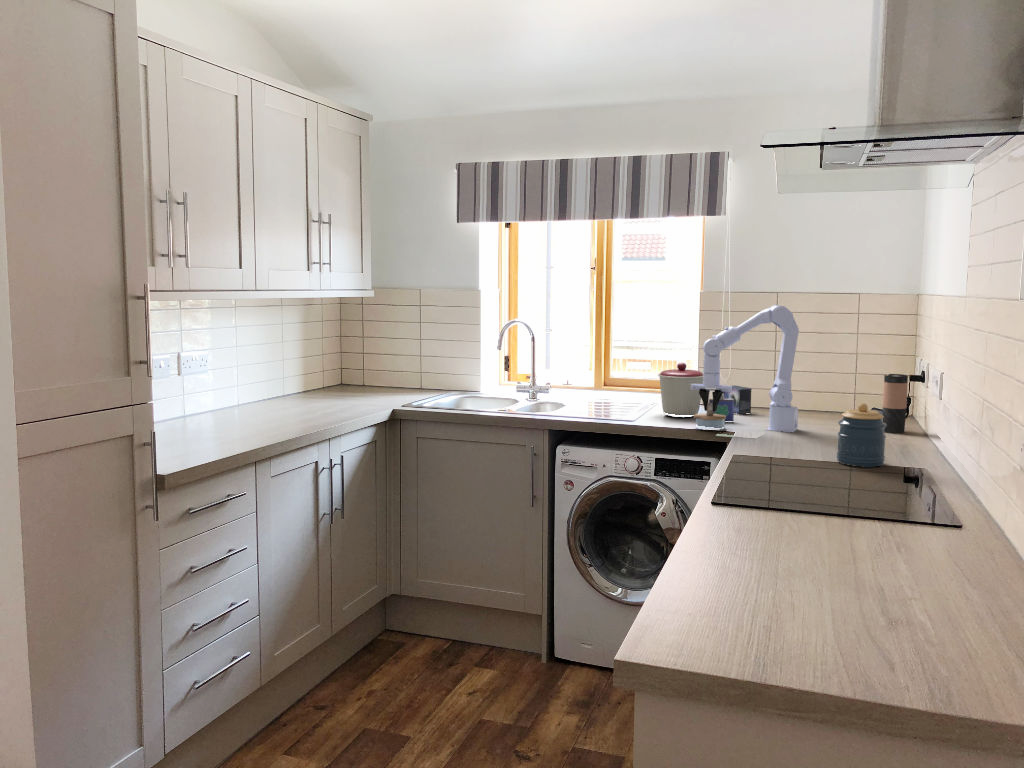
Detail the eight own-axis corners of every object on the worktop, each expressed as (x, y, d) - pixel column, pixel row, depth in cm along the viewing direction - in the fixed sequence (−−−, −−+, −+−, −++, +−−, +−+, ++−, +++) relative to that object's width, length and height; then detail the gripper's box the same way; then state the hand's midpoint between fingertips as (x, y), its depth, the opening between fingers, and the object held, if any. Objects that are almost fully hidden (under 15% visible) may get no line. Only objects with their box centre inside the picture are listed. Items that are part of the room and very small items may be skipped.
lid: (732, 418, 307) (732, 403, 306) (712, 420, 300) (712, 406, 300) (707, 414, 316) (708, 400, 315) (687, 417, 309) (688, 402, 308)
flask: (732, 421, 324) (733, 393, 323) (734, 423, 321) (735, 394, 320) (708, 421, 325) (708, 393, 323) (709, 423, 322) (710, 394, 320)
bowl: (727, 428, 310) (727, 417, 310) (719, 432, 302) (719, 420, 302) (701, 425, 315) (701, 415, 315) (692, 429, 307) (692, 418, 307)
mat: (767, 433, 299) (767, 432, 299) (756, 440, 288) (756, 439, 288) (727, 430, 307) (727, 429, 307) (715, 436, 295) (715, 435, 295)
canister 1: (695, 421, 325) (697, 365, 322) (650, 417, 334) (651, 363, 331) (710, 415, 341) (711, 361, 338) (666, 411, 350) (667, 359, 347)
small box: (721, 411, 350) (721, 385, 348) (734, 410, 352) (734, 385, 351) (738, 415, 340) (739, 388, 339) (751, 414, 343) (752, 388, 341)
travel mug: (907, 434, 298) (910, 376, 296) (883, 433, 300) (886, 376, 297) (902, 430, 306) (905, 374, 303) (879, 429, 307) (882, 373, 305)
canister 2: (827, 462, 252) (830, 403, 250) (850, 456, 260) (853, 398, 258) (870, 470, 242) (873, 408, 240) (892, 463, 250) (896, 403, 248)
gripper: (735, 372, 306) (733, 410, 308) (695, 370, 314) (694, 407, 315) (729, 374, 300) (727, 413, 302) (688, 372, 308) (688, 410, 309)
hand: (710, 410), depth 308 cm, fingers closed on lid, 2 cm apart
